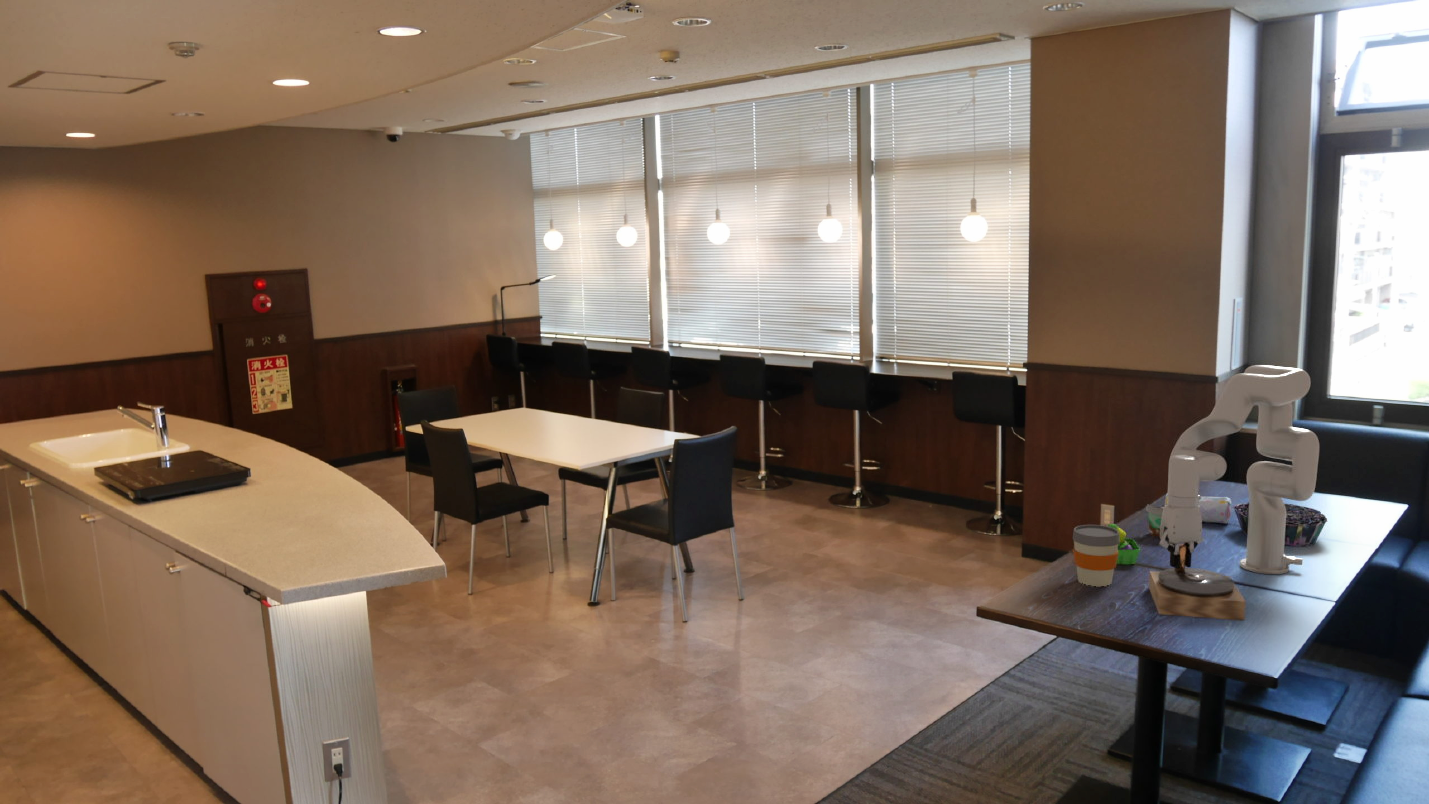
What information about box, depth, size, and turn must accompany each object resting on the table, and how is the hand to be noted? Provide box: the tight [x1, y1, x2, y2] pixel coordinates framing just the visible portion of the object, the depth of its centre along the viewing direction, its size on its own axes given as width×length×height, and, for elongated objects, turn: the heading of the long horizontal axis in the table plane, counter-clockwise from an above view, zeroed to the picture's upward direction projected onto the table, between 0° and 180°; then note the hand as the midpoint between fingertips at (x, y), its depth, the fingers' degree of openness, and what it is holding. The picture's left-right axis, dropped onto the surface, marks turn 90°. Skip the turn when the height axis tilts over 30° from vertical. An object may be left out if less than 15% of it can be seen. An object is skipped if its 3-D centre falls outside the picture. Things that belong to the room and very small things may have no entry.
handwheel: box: [1158, 543, 1235, 596], centre depth 262 cm, size 18×18×9 cm
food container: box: [1145, 503, 1164, 539], centre depth 321 cm, size 12×6×10 cm, turn 68°
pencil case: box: [1162, 492, 1232, 525], centre depth 339 cm, size 21×9×10 cm, turn 53°
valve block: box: [1148, 570, 1246, 621], centre depth 263 cm, size 20×20×5 cm
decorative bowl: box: [1232, 502, 1328, 547], centre depth 318 cm, size 26×28×10 cm
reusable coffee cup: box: [1072, 524, 1120, 588], centre depth 281 cm, size 13×12×15 cm
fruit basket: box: [1107, 523, 1141, 565], centre depth 300 cm, size 11×9×11 cm
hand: (1180, 566), depth 269 cm, fingers closed on handwheel, 2 cm apart
